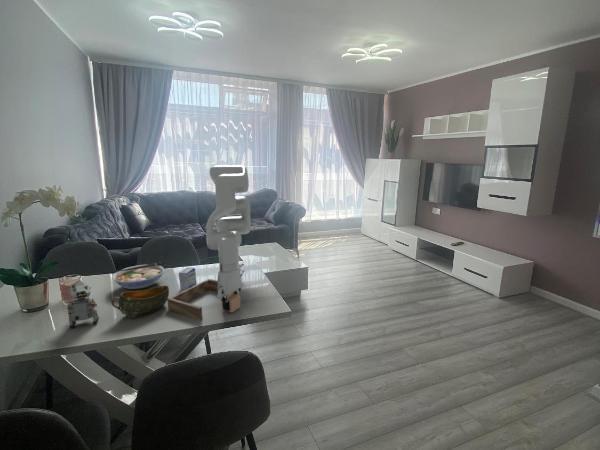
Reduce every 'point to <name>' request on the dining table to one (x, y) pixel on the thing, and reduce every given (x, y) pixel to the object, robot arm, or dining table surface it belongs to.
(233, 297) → the terracotta block
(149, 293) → the cup
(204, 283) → the wooden open frame
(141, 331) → the dining table surface
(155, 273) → the ramen bowl
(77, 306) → the figurine
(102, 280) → the dining table surface
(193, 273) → the medicine box
